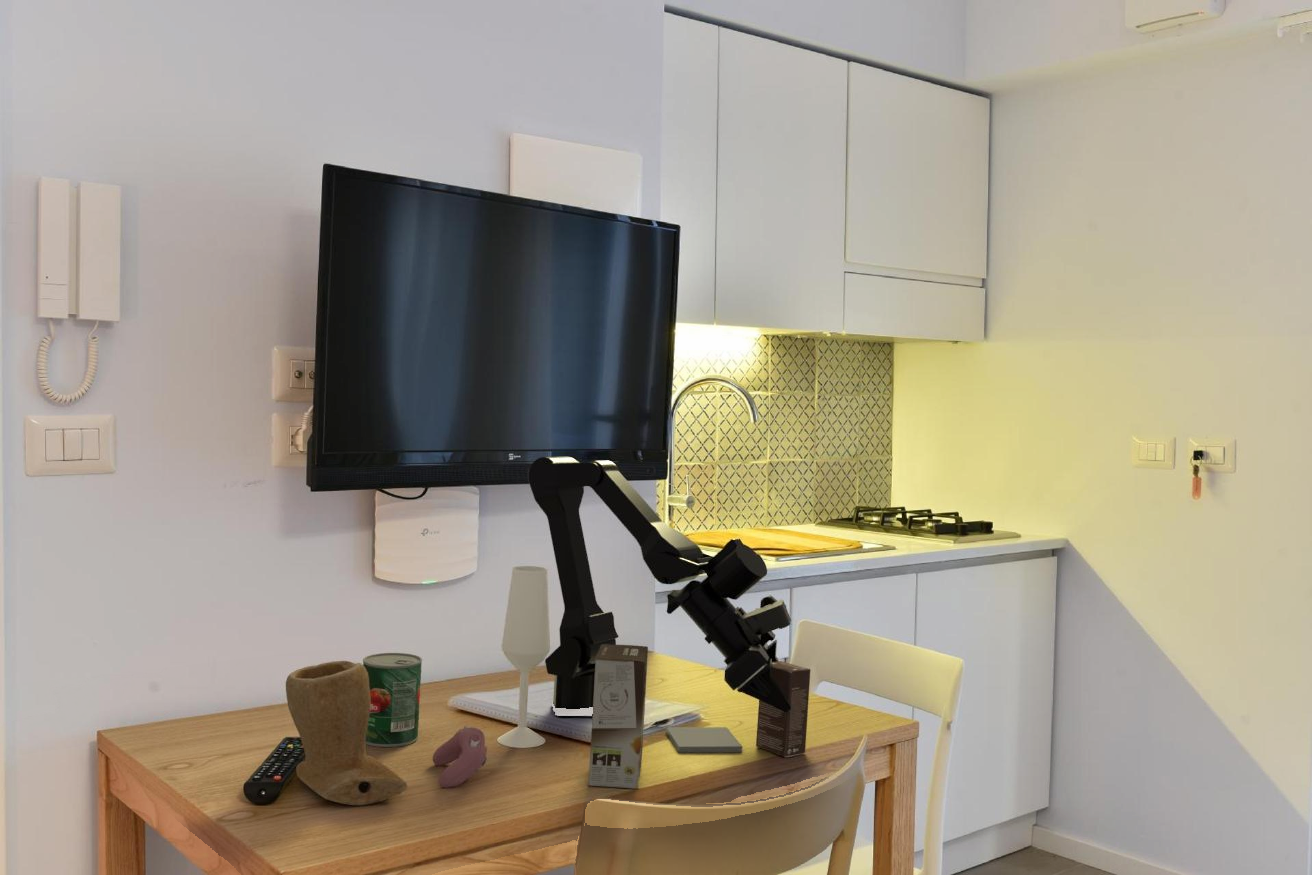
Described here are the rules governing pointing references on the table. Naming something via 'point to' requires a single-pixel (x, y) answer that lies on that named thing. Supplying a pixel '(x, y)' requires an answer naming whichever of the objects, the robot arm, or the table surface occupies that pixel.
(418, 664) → the canned tomato
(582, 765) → the table surface
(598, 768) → the coffee box
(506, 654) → the champagne flute
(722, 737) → the slate pad
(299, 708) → the brown boot
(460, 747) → the purple curved piece
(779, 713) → the box
